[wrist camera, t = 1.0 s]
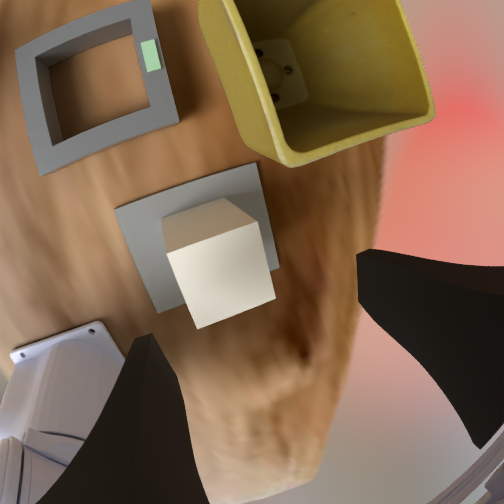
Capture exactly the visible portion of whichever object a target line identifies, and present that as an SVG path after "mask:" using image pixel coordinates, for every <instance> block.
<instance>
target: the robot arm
mask: <svg viewBox="0 0 504 504" xmlns="http://www.w3.org/2000/svg"><path fill="white" fill-rule="evenodd" d="M356 261H357V279H358V302H359V303H360V304H361V305H362V307H363V308H364V309H365V310H366V312H367V313H368V314H369V315H370V316H371V318H372V319H373V320H374V321H375V322H376V323H377V324H378V325H379V326H380V327H382V328H383V329H384V330H385V331H386V332H387V333H388V334H389V335H390V336H391V337H393V338H394V339H395V340H396V341H397V342H398V343H399V344H400V345H401V346H402V347H404V348H405V349H406V350H407V351H408V352H409V353H410V354H411V355H412V356H413V357H414V358H415V359H416V360H417V361H418V362H419V363H420V364H421V365H422V366H423V367H424V368H425V370H426V371H427V372H428V373H429V374H430V376H431V377H432V378H433V379H434V380H435V382H436V383H437V384H438V386H439V387H440V389H441V390H442V391H443V392H444V394H445V395H446V397H447V398H448V399H449V401H450V403H451V404H452V406H453V407H454V409H455V410H456V412H457V413H458V415H459V417H460V418H461V420H462V422H463V424H464V426H465V428H466V429H467V431H468V433H469V435H470V437H471V439H472V442H473V443H474V444H475V445H476V446H477V447H478V448H479V449H481V448H482V447H483V446H484V445H485V444H486V443H487V442H488V441H489V440H490V439H491V438H492V437H493V435H494V434H495V433H496V432H497V431H498V430H499V429H500V427H501V426H502V425H503V424H504V266H475V265H463V264H455V263H449V262H442V261H436V260H431V259H425V258H420V257H415V256H410V255H405V254H400V253H395V252H389V251H384V250H377V249H368V250H366V251H363V252H361V253H359V254H356ZM89 329H94V330H95V331H94V332H92V331H90V330H89ZM23 353H24V354H25V355H24V354H23ZM10 357H11V359H12V360H13V362H14V363H15V364H16V365H15V367H14V370H13V372H12V375H11V377H10V380H9V382H8V385H7V388H6V391H5V394H4V397H3V399H2V402H1V406H0V504H210V503H209V501H208V498H207V496H206V493H205V491H204V488H203V485H202V482H201V480H200V477H199V474H198V471H197V467H196V463H195V459H194V454H193V449H192V444H191V439H190V433H189V428H188V422H187V416H186V410H185V404H184V400H183V396H182V393H181V389H180V386H179V382H178V378H177V375H176V374H175V372H174V371H173V369H172V367H171V366H170V364H169V362H168V360H167V359H166V357H165V355H164V354H163V352H162V350H161V348H160V347H159V345H158V343H157V341H156V339H155V338H154V336H153V334H152V333H151V334H148V335H145V336H142V337H139V338H136V339H134V342H133V344H132V346H131V348H130V350H129V353H128V355H127V357H126V359H125V358H124V356H123V355H122V353H121V352H120V350H119V349H118V347H117V345H116V344H115V342H114V341H113V339H112V337H111V336H110V334H109V332H108V331H107V329H106V327H105V326H104V324H103V323H102V322H100V321H95V322H92V323H89V324H86V325H83V326H81V327H78V328H75V329H72V330H69V331H67V332H64V333H61V334H58V335H55V336H52V337H49V338H47V339H44V340H41V341H38V342H35V343H32V344H29V345H27V346H24V347H21V348H18V349H15V350H12V351H11V353H10ZM503 458H504V431H503V433H502V434H501V435H500V436H499V437H498V438H497V439H496V441H495V442H494V443H493V444H492V445H491V446H490V447H489V449H487V451H486V452H485V453H484V454H483V455H482V456H481V457H480V458H479V459H478V460H477V461H476V462H475V463H474V464H473V465H472V466H471V467H470V468H469V469H468V470H467V471H466V472H465V473H464V474H463V475H461V476H460V477H459V478H458V479H457V480H456V481H455V482H453V483H452V484H451V485H450V486H449V487H448V488H446V489H445V490H444V491H443V492H442V493H440V494H439V495H438V496H437V497H436V498H435V499H433V500H432V501H430V502H429V503H428V504H459V503H461V502H462V501H463V500H464V499H465V498H466V497H467V496H468V495H469V494H470V493H471V492H472V491H473V490H475V489H476V487H478V486H479V485H480V484H481V483H482V481H483V480H484V479H485V478H486V477H487V476H488V475H489V474H490V473H491V472H492V471H493V470H494V469H495V468H496V466H498V464H499V463H500V462H501V461H502V460H503ZM485 488H486V489H487V490H488V491H487V492H486V494H484V495H483V496H482V497H481V498H480V499H479V500H478V501H477V502H476V503H475V504H504V463H503V464H502V465H501V466H500V467H499V468H498V469H497V470H496V471H495V472H494V474H493V475H492V476H491V477H490V479H489V480H488V481H487V483H486V484H485Z"/></svg>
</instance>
